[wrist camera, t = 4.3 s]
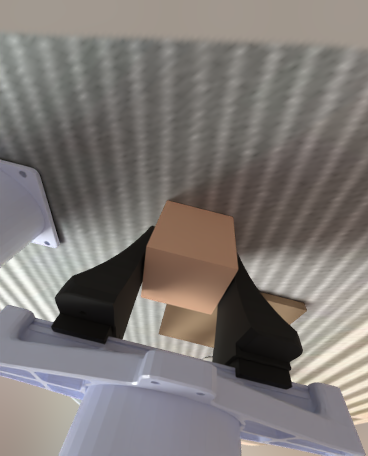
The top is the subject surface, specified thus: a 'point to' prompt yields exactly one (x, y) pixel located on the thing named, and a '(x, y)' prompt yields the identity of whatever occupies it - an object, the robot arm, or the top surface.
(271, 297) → the walnut board
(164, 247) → the terracotta block
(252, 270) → the top surface
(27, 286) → the top surface
